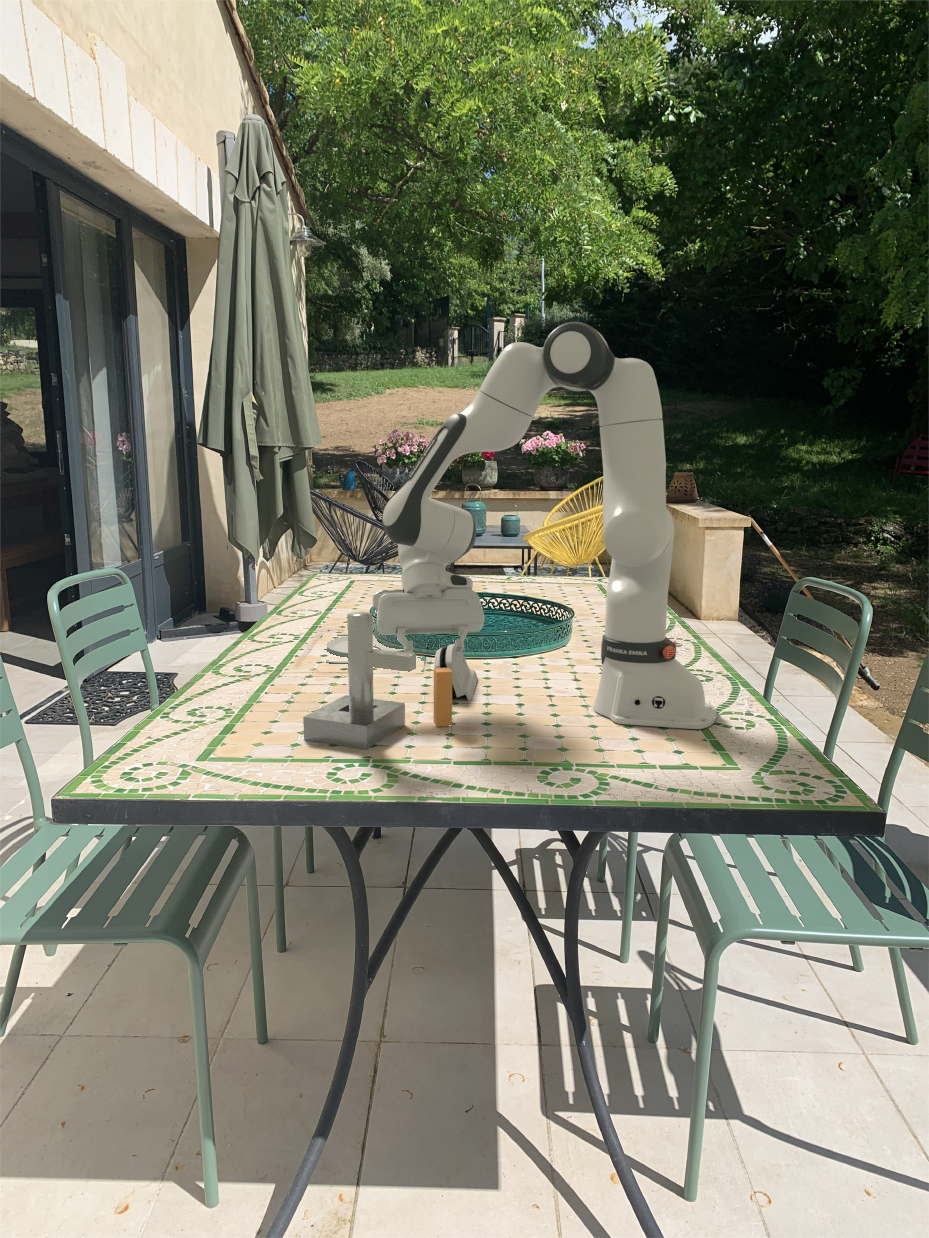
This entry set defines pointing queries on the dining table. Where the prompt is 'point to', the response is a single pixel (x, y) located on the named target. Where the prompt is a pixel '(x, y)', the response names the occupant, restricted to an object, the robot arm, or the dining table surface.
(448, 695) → the orange rectangular block
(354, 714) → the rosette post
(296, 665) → the dining table surface
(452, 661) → the grey rounded block
